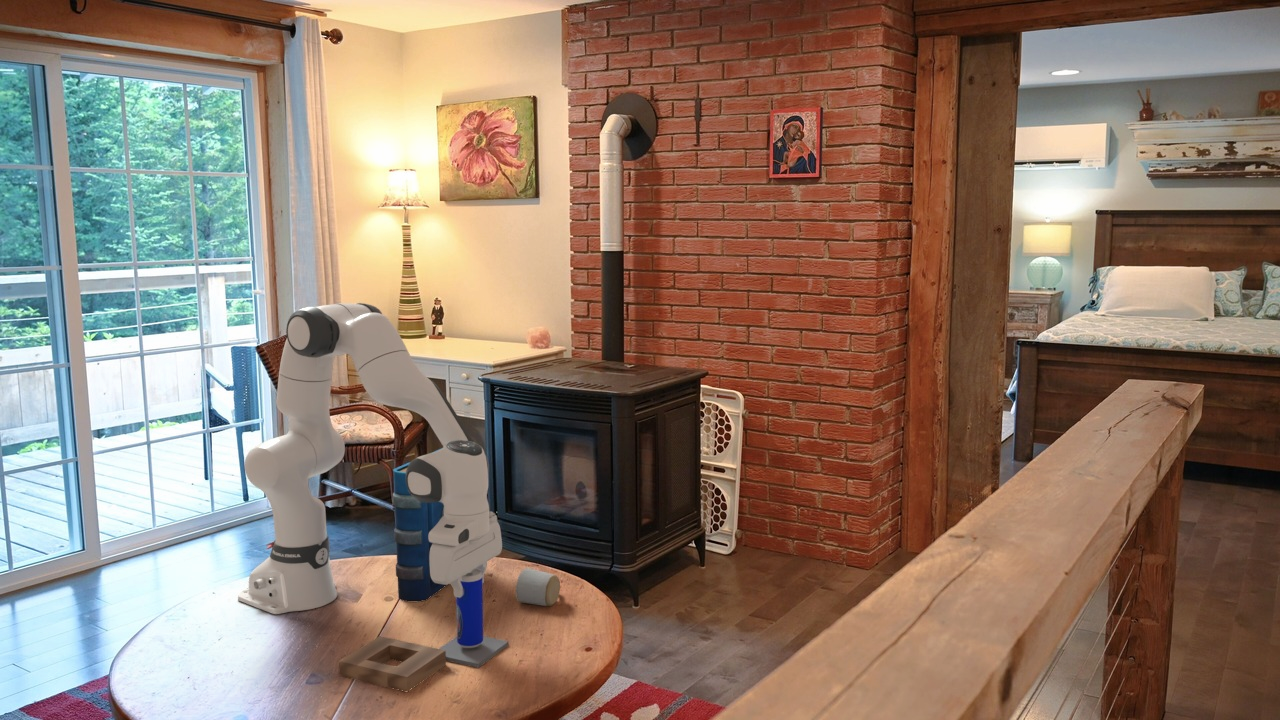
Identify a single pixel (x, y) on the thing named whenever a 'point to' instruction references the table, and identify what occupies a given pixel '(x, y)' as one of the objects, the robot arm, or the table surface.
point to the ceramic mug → (537, 587)
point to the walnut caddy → (372, 669)
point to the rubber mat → (473, 651)
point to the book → (413, 540)
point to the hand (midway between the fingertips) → (469, 590)
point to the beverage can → (470, 611)
